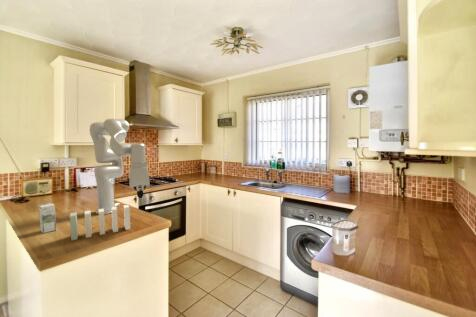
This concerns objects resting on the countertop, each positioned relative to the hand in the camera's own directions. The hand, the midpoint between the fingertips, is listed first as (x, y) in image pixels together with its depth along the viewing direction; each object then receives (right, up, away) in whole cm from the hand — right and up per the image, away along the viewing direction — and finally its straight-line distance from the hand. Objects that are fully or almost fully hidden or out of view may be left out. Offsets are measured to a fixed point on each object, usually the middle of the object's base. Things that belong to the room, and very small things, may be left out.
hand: (140, 197), depth 130 cm
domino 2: (-17, -17, -8) cm, 25 cm away
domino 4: (-6, -16, -2) cm, 18 cm away
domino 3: (-11, -17, -5) cm, 21 cm away
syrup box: (-47, -17, -6) cm, 50 cm away
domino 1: (-22, -17, -12) cm, 30 cm away
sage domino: (-27, -18, -15) cm, 35 cm away
